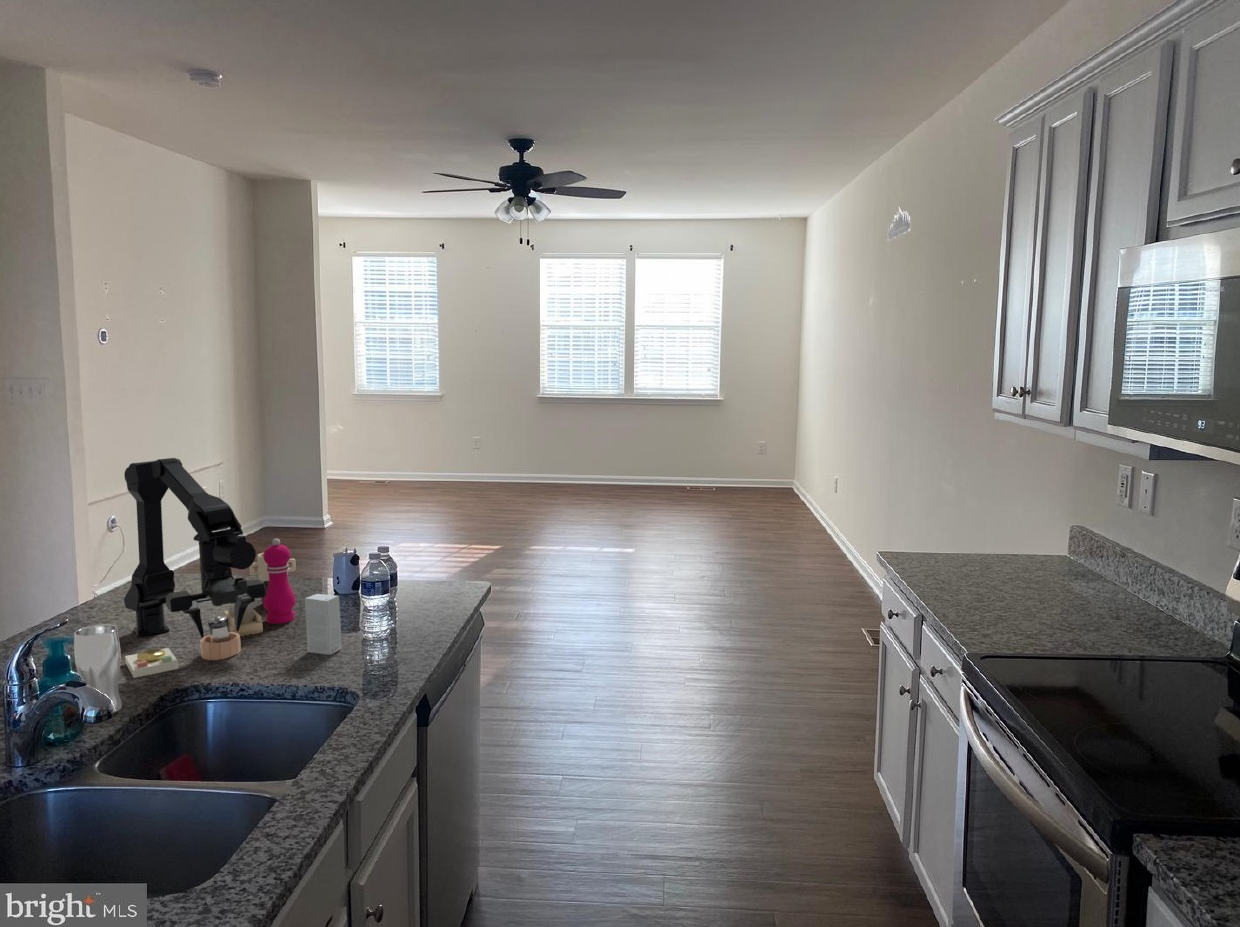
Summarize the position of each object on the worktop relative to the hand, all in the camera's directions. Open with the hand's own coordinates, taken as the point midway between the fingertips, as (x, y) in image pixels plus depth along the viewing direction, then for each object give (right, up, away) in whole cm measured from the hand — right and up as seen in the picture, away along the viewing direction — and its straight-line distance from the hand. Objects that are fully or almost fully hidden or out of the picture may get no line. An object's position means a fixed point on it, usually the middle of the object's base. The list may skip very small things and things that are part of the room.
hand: (219, 634), depth 180 cm
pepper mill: (+4, -2, +23) cm, 24 cm away
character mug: (-3, 0, +37) cm, 37 cm away
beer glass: (-8, -8, -28) cm, 30 cm away
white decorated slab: (-11, -5, -7) cm, 14 cm away
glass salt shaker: (0, -4, 0) cm, 4 cm away
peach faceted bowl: (0, -4, +1) cm, 4 cm away
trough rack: (-2, -2, +16) cm, 17 cm away
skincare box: (+22, -4, +2) cm, 22 cm away
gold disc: (-11, -3, -7) cm, 13 cm away
